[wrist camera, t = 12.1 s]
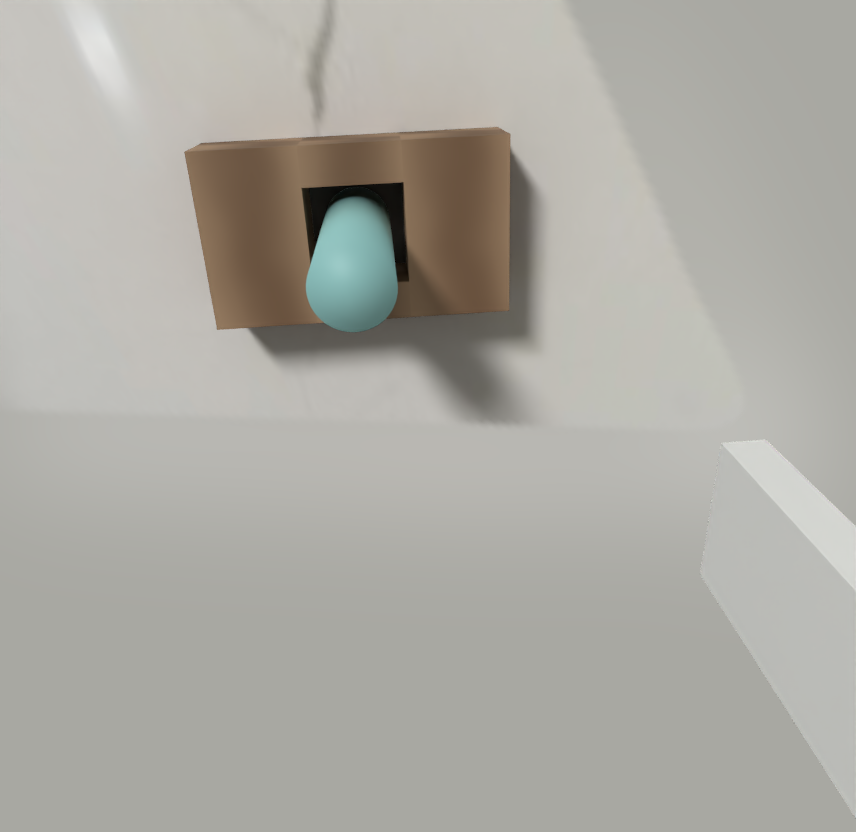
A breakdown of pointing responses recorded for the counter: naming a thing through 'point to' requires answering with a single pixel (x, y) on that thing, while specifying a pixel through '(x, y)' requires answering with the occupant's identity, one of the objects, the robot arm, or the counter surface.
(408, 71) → the counter surface
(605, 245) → the counter surface
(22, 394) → the counter surface
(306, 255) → the hole block
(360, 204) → the peg
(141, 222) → the counter surface
